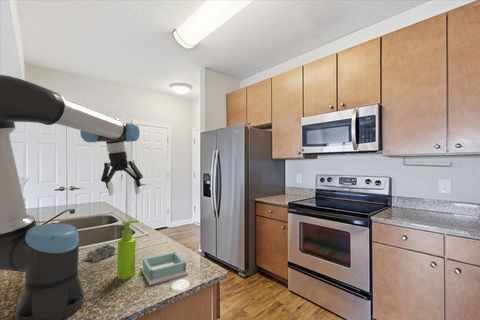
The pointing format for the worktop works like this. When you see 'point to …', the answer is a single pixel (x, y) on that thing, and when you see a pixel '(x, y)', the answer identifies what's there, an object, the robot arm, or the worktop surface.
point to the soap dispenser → (126, 252)
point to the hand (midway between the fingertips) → (124, 194)
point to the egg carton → (100, 253)
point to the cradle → (163, 268)
